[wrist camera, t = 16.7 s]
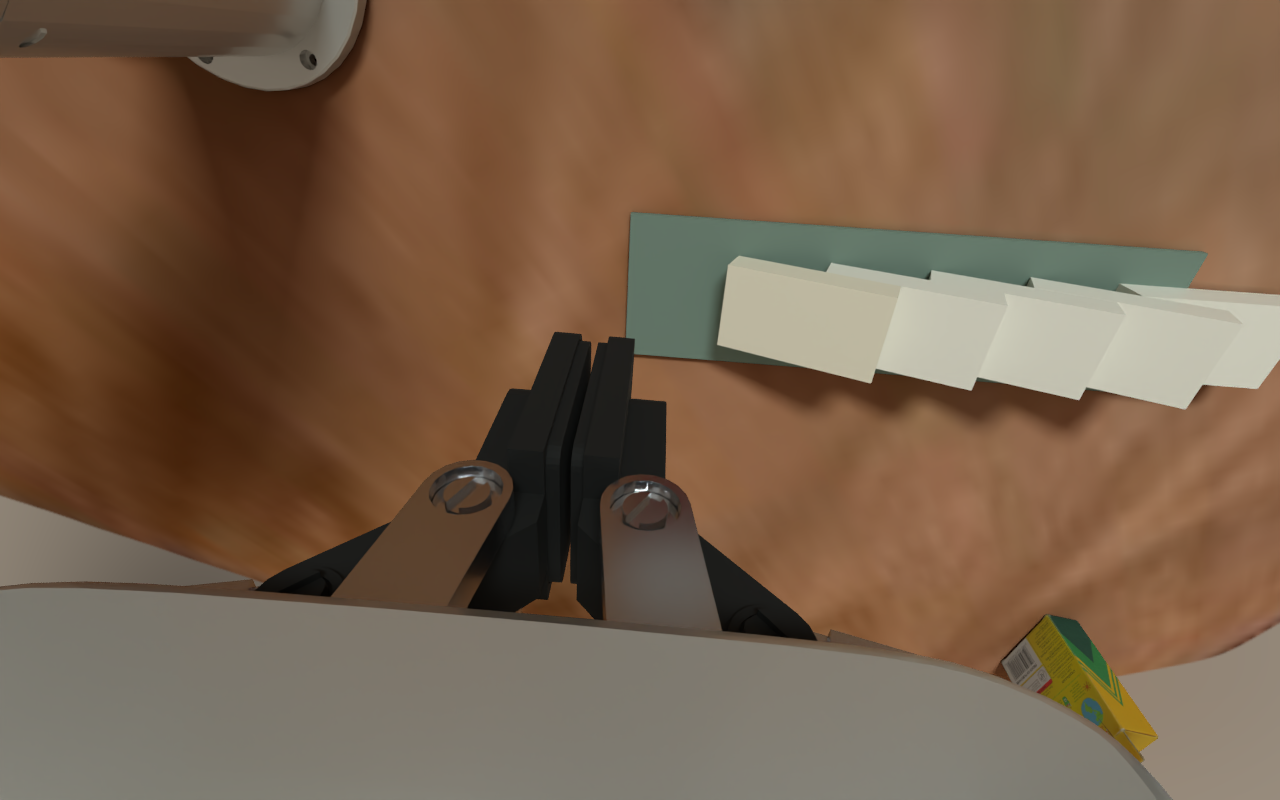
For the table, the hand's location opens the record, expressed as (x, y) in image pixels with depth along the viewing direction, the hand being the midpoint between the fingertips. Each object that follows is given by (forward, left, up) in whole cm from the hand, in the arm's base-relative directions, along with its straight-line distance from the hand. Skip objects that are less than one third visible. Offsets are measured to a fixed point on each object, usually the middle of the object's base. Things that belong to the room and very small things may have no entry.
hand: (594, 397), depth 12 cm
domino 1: (+5, -6, -22) cm, 23 cm away
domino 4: (+22, -6, -22) cm, 31 cm away
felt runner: (+15, -6, -23) cm, 28 cm away
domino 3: (+16, -6, -22) cm, 28 cm away
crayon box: (+36, -36, -23) cm, 56 cm away
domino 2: (+10, -6, -22) cm, 25 cm away
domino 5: (+27, -6, -22) cm, 35 cm away
